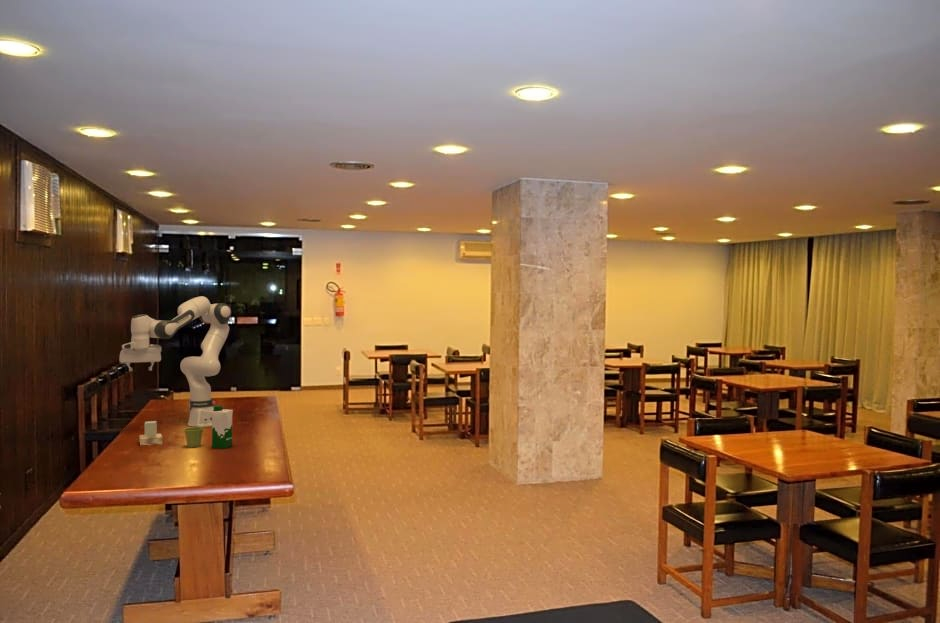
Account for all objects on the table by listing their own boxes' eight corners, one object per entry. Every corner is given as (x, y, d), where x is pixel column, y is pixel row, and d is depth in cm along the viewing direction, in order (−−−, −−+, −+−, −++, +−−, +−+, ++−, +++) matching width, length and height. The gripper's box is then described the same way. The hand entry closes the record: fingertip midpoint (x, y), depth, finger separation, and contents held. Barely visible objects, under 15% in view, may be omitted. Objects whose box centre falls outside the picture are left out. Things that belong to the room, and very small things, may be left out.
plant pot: (179, 447, 348) (179, 429, 348) (195, 443, 357) (194, 426, 356) (192, 449, 344) (192, 431, 344) (208, 445, 352) (208, 428, 352)
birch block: (160, 441, 364) (160, 433, 364) (162, 444, 355) (162, 436, 355) (139, 443, 360) (139, 435, 359) (140, 446, 351) (140, 438, 351)
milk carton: (218, 444, 354) (218, 404, 353) (235, 445, 352) (235, 405, 351) (209, 448, 345) (208, 407, 345) (225, 449, 343) (225, 408, 343)
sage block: (156, 434, 361) (156, 421, 360) (155, 436, 356) (155, 422, 356) (146, 435, 359) (145, 421, 359) (144, 437, 354) (144, 423, 354)
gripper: (161, 343, 385) (162, 369, 386) (119, 345, 378) (120, 370, 378) (161, 344, 379) (161, 370, 380) (118, 345, 372) (119, 372, 372)
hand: (140, 370), depth 379 cm, fingers open, 8 cm apart
